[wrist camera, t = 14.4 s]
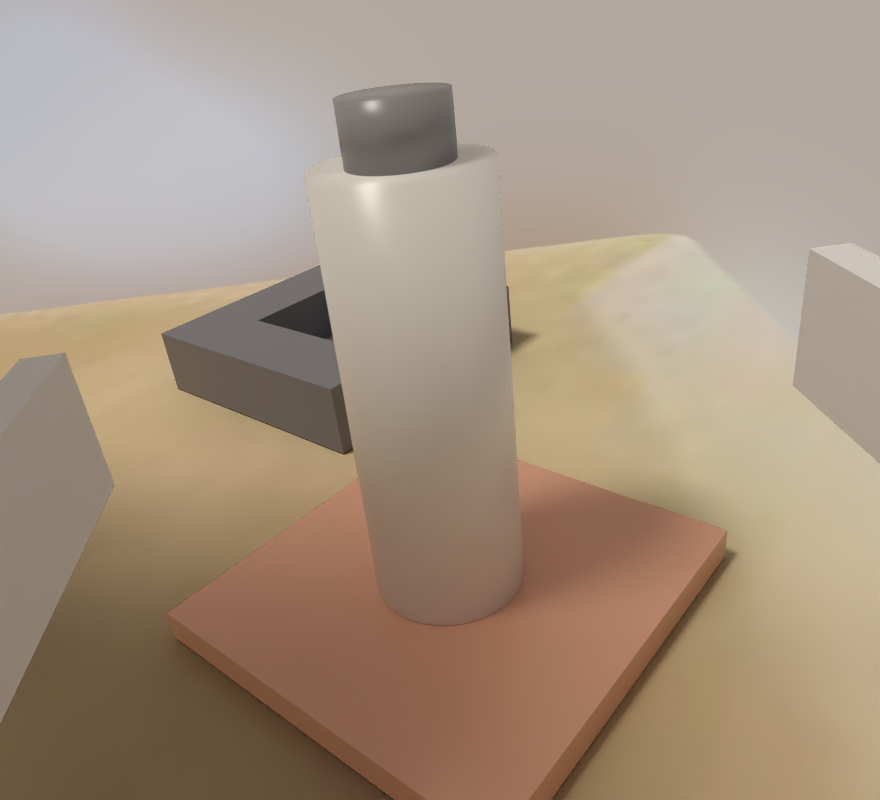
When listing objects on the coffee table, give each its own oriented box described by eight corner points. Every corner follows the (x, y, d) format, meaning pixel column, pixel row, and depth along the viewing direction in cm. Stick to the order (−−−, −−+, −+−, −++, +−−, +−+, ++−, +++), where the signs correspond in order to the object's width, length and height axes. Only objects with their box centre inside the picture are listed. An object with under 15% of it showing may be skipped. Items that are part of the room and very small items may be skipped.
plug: (346, 586, 23) (249, 109, 17) (440, 510, 26) (387, 78, 20) (463, 649, 20) (399, 111, 14) (552, 556, 23) (533, 75, 17)
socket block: (178, 388, 39) (161, 333, 37) (347, 304, 47) (339, 256, 45) (343, 454, 32) (330, 389, 30) (512, 342, 39) (508, 286, 38)
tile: (175, 637, 23) (166, 613, 23) (430, 450, 31) (427, 429, 31) (496, 876, 16) (493, 847, 16) (725, 556, 24) (726, 531, 24)
